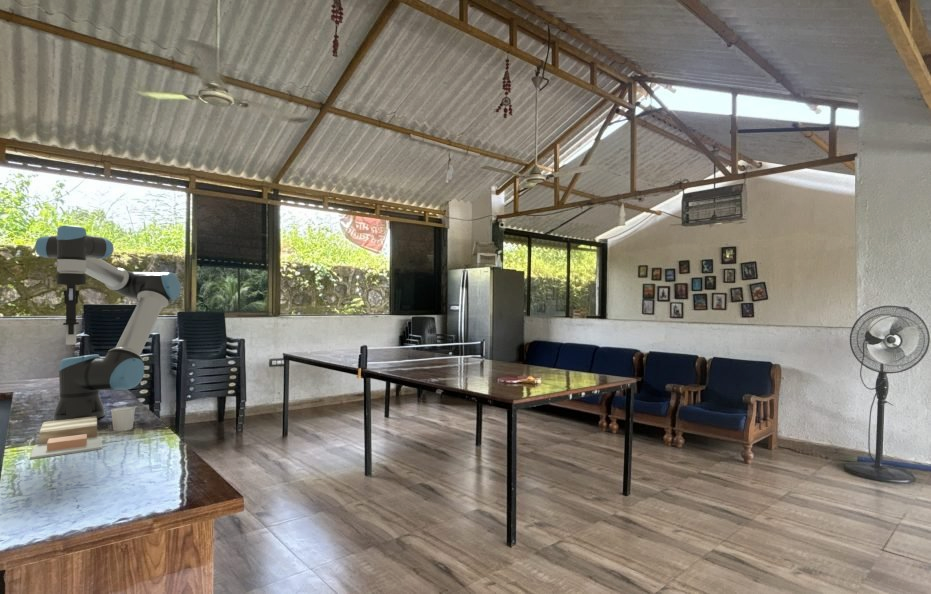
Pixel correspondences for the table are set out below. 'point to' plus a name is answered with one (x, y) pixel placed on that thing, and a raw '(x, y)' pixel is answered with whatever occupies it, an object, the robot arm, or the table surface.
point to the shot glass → (122, 418)
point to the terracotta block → (66, 442)
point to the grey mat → (41, 449)
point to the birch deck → (68, 428)
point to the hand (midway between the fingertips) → (71, 344)
